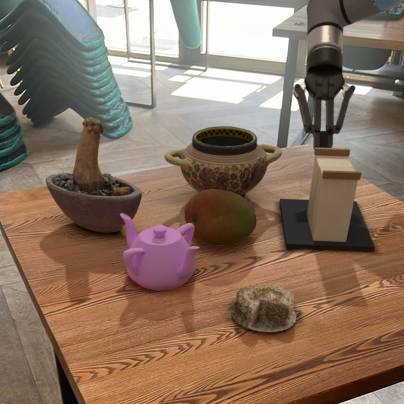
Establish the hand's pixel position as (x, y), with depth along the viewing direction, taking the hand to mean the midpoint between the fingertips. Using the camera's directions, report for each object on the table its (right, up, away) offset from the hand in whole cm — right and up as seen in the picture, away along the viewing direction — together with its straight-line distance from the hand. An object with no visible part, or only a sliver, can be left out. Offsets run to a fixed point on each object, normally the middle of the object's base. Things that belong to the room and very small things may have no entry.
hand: (322, 164), depth 118 cm
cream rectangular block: (-1, -14, -7) cm, 15 cm away
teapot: (-32, -26, -21) cm, 46 cm away
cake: (-15, -34, -30) cm, 48 cm away
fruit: (-21, -18, -11) cm, 30 cm away
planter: (-45, -15, -8) cm, 48 cm away
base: (-1, -14, -6) cm, 15 cm away
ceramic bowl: (-20, -6, +4) cm, 22 cm away
